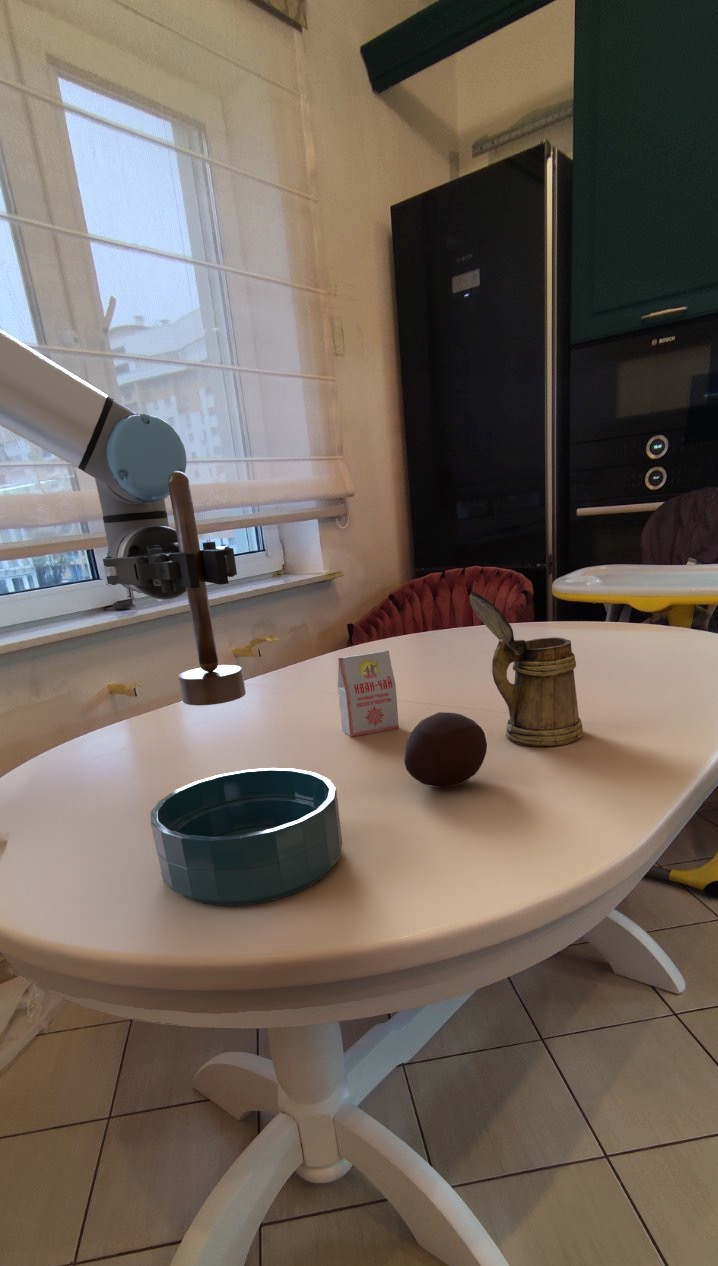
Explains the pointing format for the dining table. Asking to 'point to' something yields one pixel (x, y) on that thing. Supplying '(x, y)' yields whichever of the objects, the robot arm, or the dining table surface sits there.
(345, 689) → the tea bag
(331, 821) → the bowl
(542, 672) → the wooden mug
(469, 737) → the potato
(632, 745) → the dining table surface
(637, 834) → the dining table surface
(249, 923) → the dining table surface
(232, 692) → the brown stick with disc
